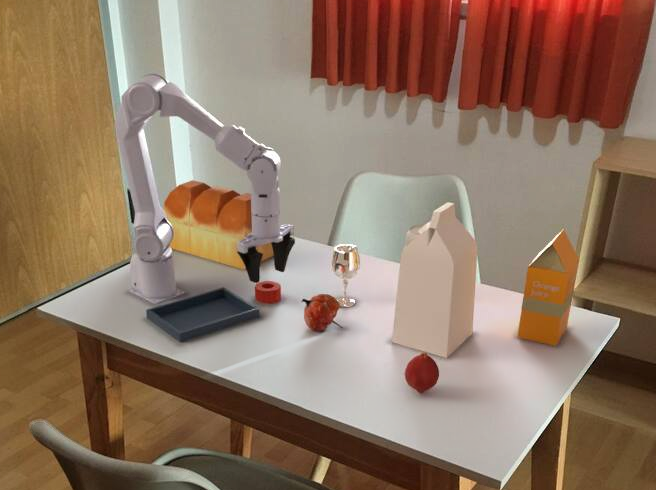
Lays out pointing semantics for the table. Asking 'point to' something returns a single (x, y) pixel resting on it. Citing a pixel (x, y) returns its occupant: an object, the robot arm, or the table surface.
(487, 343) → the table surface
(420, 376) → the onion
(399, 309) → the milk
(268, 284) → the ring
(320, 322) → the pomegranate
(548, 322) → the orange juice
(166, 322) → the tray
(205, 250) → the bread
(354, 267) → the wineglass
